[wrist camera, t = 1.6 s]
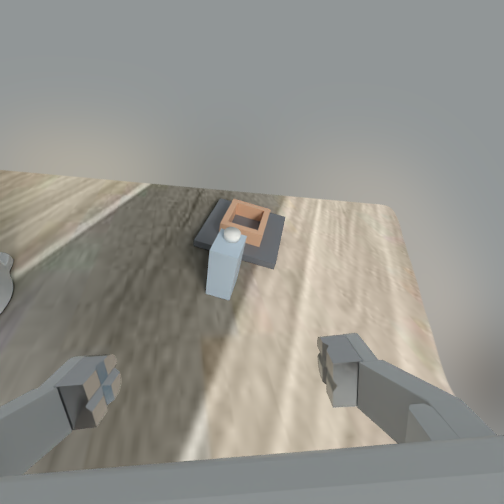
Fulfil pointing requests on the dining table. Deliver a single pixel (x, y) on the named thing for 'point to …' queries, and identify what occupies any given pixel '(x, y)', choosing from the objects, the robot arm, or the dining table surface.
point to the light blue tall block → (225, 262)
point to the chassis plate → (245, 230)
